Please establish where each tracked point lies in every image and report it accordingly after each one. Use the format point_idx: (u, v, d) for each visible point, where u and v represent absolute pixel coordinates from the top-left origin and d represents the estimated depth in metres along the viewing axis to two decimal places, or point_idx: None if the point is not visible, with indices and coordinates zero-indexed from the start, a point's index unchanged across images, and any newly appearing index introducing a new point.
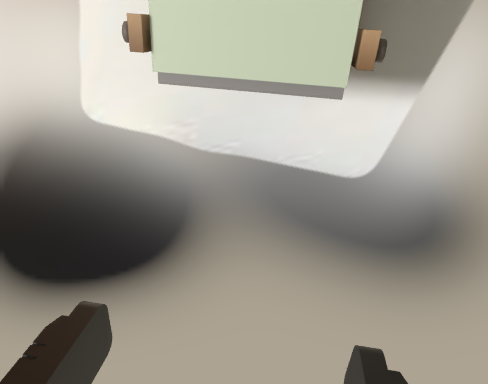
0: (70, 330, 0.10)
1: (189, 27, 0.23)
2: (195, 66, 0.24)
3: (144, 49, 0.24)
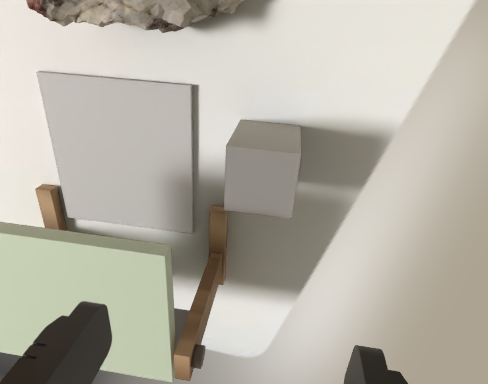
0: (70, 330, 0.10)
1: (11, 326, 0.23)
2: None
3: None
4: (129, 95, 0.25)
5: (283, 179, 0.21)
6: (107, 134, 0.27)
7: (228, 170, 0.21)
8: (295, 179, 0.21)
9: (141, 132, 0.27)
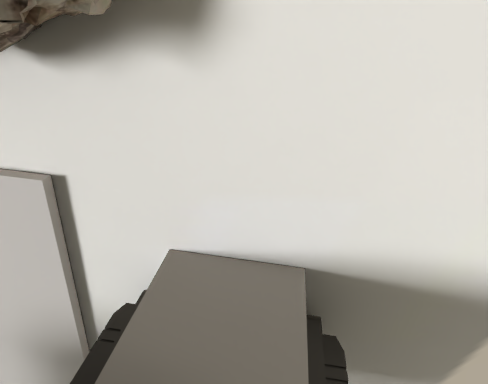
0: None
1: None
2: None
3: None
4: None
5: None
6: None
7: None
8: None
9: None
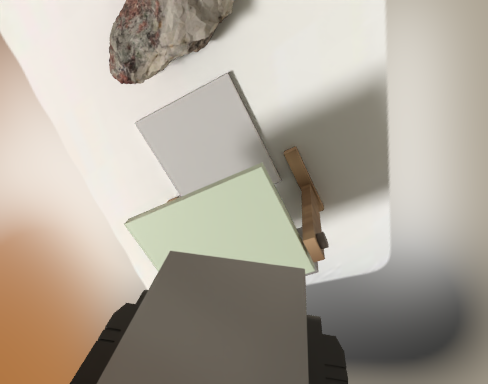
0: None
1: None
2: None
3: None
4: (193, 104, 0.36)
5: None
6: (192, 139, 0.38)
7: None
8: None
9: (212, 125, 0.37)
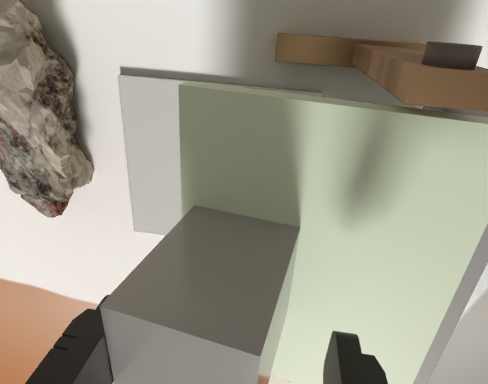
0: (98, 322, 0.10)
1: None
2: (402, 369, 0.15)
3: None
4: (140, 147, 0.24)
5: None
6: None
7: (113, 348, 0.10)
8: None
9: (179, 141, 0.23)
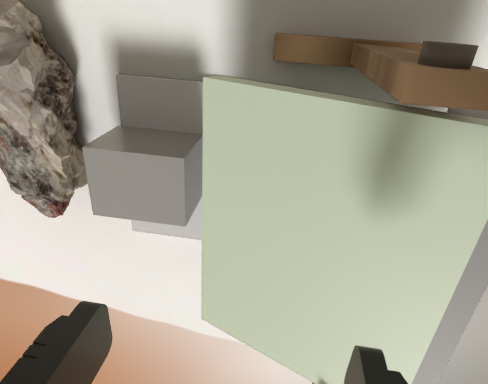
0: (70, 330, 0.10)
1: (337, 352, 0.16)
2: None
3: None
4: None
5: None
6: None
7: None
8: (87, 173, 0.20)
9: None
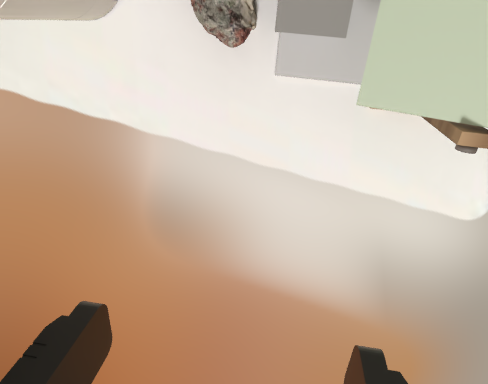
0: (70, 330, 0.10)
1: (483, 83, 0.23)
2: None
3: None
4: None
5: None
6: None
7: None
8: None
9: None
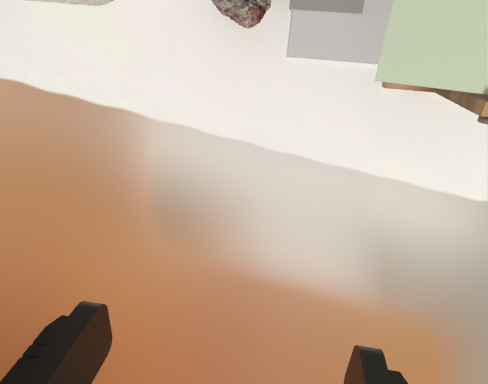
0: (70, 330, 0.10)
1: None
2: None
3: None
4: None
5: None
6: None
7: None
8: None
9: None
